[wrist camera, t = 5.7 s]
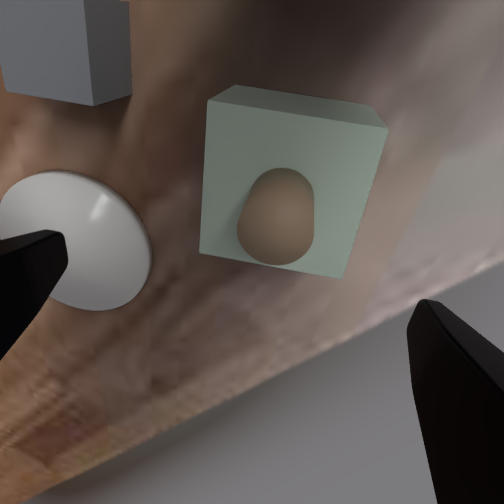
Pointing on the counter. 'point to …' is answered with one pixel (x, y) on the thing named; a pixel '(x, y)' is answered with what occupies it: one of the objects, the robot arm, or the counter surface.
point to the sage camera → (287, 178)
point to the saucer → (83, 236)
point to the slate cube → (66, 49)
